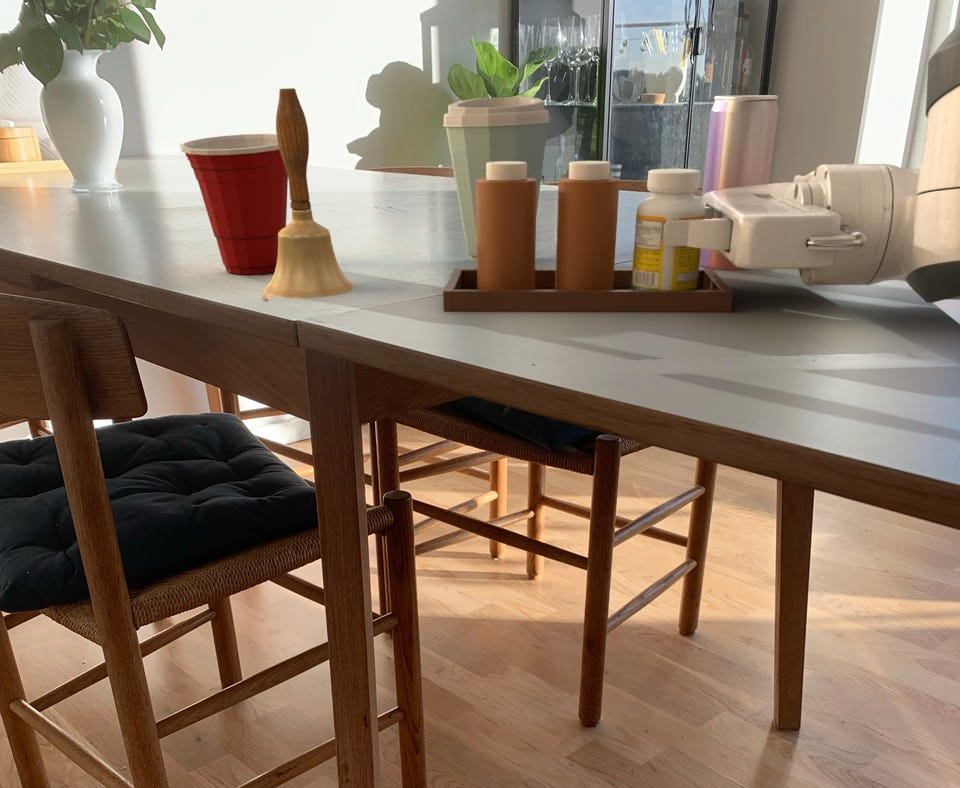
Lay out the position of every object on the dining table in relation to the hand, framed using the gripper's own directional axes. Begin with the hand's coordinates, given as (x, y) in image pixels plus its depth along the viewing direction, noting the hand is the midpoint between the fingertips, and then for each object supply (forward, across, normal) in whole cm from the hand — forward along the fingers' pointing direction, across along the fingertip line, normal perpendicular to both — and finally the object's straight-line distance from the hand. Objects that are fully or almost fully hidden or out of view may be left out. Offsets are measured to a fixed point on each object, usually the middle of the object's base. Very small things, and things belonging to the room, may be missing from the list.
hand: (658, 227), depth 76 cm
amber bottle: (+6, 0, -6) cm, 8 cm away
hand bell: (+30, +5, -6) cm, 31 cm away
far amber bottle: (+12, 0, -6) cm, 13 cm away
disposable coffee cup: (+14, +24, -6) cm, 28 cm away
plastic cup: (+38, +18, -6) cm, 43 cm away
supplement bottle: (-1, 0, -6) cm, 6 cm away
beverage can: (-9, +17, -6) cm, 21 cm away
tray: (+6, 0, -6) cm, 8 cm away
